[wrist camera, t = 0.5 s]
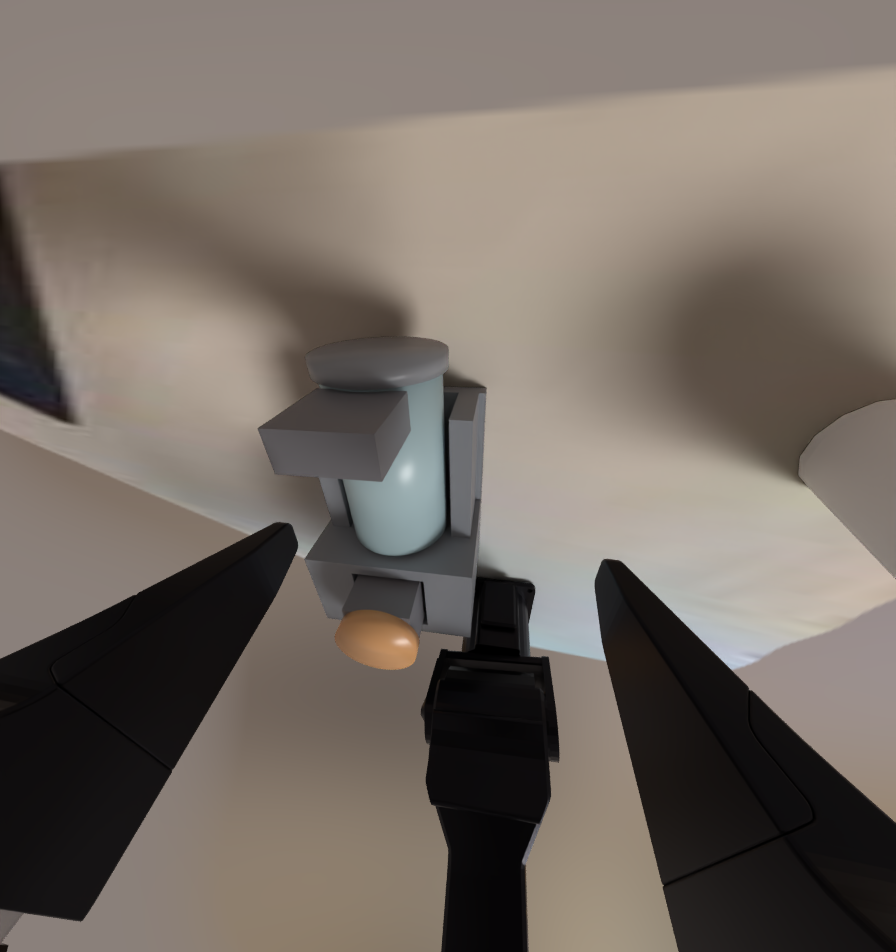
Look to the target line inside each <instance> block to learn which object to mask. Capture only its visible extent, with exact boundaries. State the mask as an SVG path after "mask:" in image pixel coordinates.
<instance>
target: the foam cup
mask: <svg viewBox="0 0 896 952" xmlns="http://www.w3.org/2000/svg"><path fill="white" fill-rule="evenodd" d="M798 476H799V477H800V478H801V479H802V480H803V481H804V483H805V484H806V485H807V486H808V487H809V488H810V489H811V490H812V492H813V493H814V494H815V495H816V496H817V497H818V498H819V499H820V500H821V501H822V503H823V504H824V505H825V506H826V507H827V508H828V509H829V510H830V511H831V512H832V513H833V514H834V515H835V516H836V517H837V518H838V519H839V520H840V521H841V522H842V523H843V525H844V526H845V527H846V528H847V529H848V530H849V531H850V532H851V533H852V534H853V535H854V536H855V537H856V538H857V539H858V540H859V541H860V542H861V543H862V544H863V545H864V547H865V548H866V549H867V550H868V551H869V552H870V553H871V554H872V555H873V556H874V557H875V558H876V559H877V560H878V561H879V562H880V563H881V564H882V565H883V566H884V567H885V569H886V570H887V571H888V572H889V573H890V574H891V575H892V576H893V577H894V578H895V579H896V399H893V400H885V401H877V402H875V403H873V404H870V405H868V406H865V407H863V408H860V409H858V410H855V411H853V412H850V413H848V414H845V415H843V416H841V417H840V418H839V419H837V420H836V421H834V422H833V423H832V424H830V425H829V426H828V427H826V428H825V429H823V430H822V431H821V432H819V433H818V434H817V435H815V436H814V438H813V439H812V440H811V442H810V443H809V445H808V446H807V447H806V449H805V450H804V452H803V453H802V454H801V456H800V460H799V472H798Z"/></svg>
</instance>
